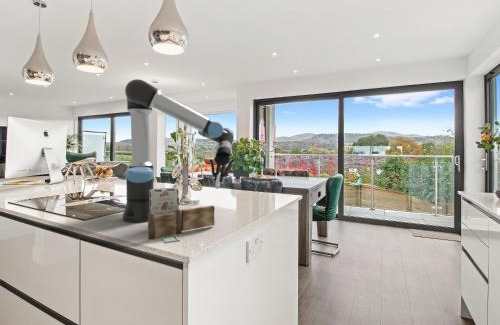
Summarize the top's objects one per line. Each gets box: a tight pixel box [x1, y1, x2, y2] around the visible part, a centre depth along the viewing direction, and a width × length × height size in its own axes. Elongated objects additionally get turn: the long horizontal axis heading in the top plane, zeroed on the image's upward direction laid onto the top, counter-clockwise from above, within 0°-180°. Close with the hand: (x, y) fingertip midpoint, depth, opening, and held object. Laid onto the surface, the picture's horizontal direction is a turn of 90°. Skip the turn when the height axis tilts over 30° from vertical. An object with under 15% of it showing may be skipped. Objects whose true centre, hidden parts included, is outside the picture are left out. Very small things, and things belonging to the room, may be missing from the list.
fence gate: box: [181, 205, 216, 232], centre depth 113 cm, size 14×2×8 cm, turn 129°
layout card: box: [161, 234, 181, 244], centre depth 100 cm, size 6×5×1 cm
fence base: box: [147, 208, 183, 241], centre depth 104 cm, size 13×2×9 cm, turn 129°
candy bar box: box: [149, 187, 180, 216], centre depth 113 cm, size 11×5×16 cm, turn 114°
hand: (217, 186), depth 133 cm, fingers closed
